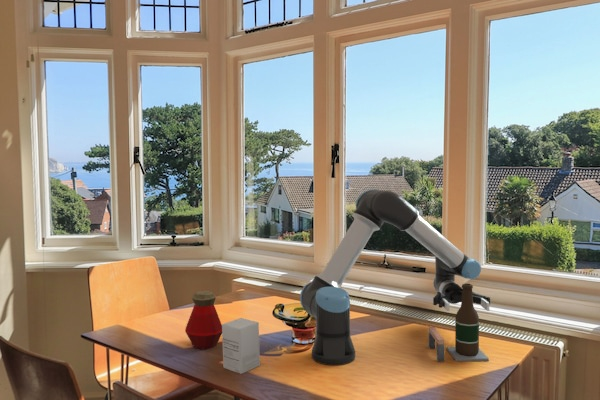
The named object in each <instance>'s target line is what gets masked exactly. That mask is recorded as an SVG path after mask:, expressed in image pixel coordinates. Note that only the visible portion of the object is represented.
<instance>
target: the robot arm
mask: <svg viewBox="0 0 600 400" xmlns="http://www.w3.org/2000/svg"><path fill="white" fill-rule="evenodd" d="M352 217H353V221H352V223H351V224H350V226H349V228H348V229H347V230H346V233H345V234H344V236H343V238H342V239H341V241H340V243H339V245H337V248H336V249H335V251H334V253H333V254H332V256H331V258H330V259H329V261H328V262H327V264H326V266H325V267H324V269H323V270H322V272H321V273H317V274H315V276H314V277H313V279H312V281H311V282H309V283H306V284H305V285H304V286H303V287H302V289H301V290H300V294H299V302H300V305H301V307H302V309H303V310H304V311H305V312H306V313H307V314H308V315H310V316H312V317H313V318H314V319H315V322H316V323H315V324H316V328H315V329H316V331H315V332H316V334H315V339H314V343H313V346H312V349H311V359H312V360H313V361H315V362H316V363H319V364H322V365H328V366H339V365H346V364H349V363H351V362H353V361H354V360H356V350H355V346H354V342H353V340H352V337H351V309H350V307H351V300H350V294H349V293H348V291H347V290H346V289H344V288H342V285H343V283H344V282H345V281H346V278H347V276H348V275H349V273H350V272H351V269H352V268H354V267H353V266H354V265H355V263H356V262H357V260H358V259H359V256H360V255H361V254H362V252H363V250H364V248H365V247H366V245H367V243H368V242H369V240H370V238H371V237H372V235H373V233H374V232H376V231H380V229H381V228H382V226H383V225H384V223H387V224H390V225H392V226H394V227H396V228H397V229H398V230H399V231H402V232H404V231H405V232H406V233H407V234H409V236H411V237H412V238H413V239H415V240H416V241H417V242H418V243H419V244H421V245H422V246H423V247H424V248H426V249H427V250H428V251H429V252H430V253H432V254H433V255H434V256H435V257H434V258H435V259H434V260H435V262H434V263H435V277H434V279H433V283H432V285H433V287H434V289H435V291H436V295H434V297H433V298H432V299H433V300H432V301H433V303H432V305H433V306H437V305H438V308H440V309H441V308H443V309H444V310H446V312H450V309H451V307H450V305H451V304H453V305H456V304H459V303H462V286H460V285H459V284H458V283H457V282H456V279H455V278H456V277H455V276H457V277H461V278H464V279H469V280H475V279H477V278H478V277H479V276H480V274H481V272H482V266H481V264H480V262H479V261H478V260H476V259H474V258H470V257H469V256H468V255H466V254H465V253H464V252H463V251H462V250H460V249H459V248H457V246H456V245H454V244H453V243H452V242H451V241H450V240H448V239H447V238H446V237H445V236H444V235H443V234H442V233H440V232H439V231H438V230H437V229H435V227H434V226H432V225H431V224H430V223H429V222H428V221H426V220H425V219H424V218H423V217H422V216H421V215H420V212H419V210H418V209H417V208H415V206H413V205H412V204H411V203H410V202H409V201H407V200H406V199H405V198H404V197H402V196H401V195H400V194H398V193H396V192H394V191H391V190H381V189H380V190H379V189H368V190H365V191H364V192H362V193H361V194H359V195H358V197H357V199H356V202H355V210H354V212H353V213H352ZM472 295H473V304H475V305H476V304H477V305H480V306H481V307H482V308H483V309H484V310H486V311H488V312H489V311H490V305H491V297H489V296H486V295H483V294H481V293H480V294H479V293H475V292H474V291H472Z"/></svg>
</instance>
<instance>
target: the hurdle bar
mask: <svg viewBox="0 0 600 400" xmlns="http://www.w3.org/2000/svg"><path fill="white" fill-rule="evenodd" d="M427 328H428V331H429V332H430V334H431V335H432V336H433V338H434V339H435V343H436V344H437V343H438V344H444V345H445V339H444V338H443V336H442V335H441V333H440V332H439V331H438V330H437V329H436V328H435V326H428V327H427ZM428 331H427V332H428Z"/></svg>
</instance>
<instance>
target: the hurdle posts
mask: <svg viewBox="0 0 600 400" xmlns="http://www.w3.org/2000/svg"><path fill="white" fill-rule="evenodd" d="M427 333H428V336H427V337H428V338H427V339H428V341H427V342H428V348H429V350H436V360H437V362H438V363H440V362H441V363H443V362H444V363H445V343H444V344H438V343H437V342H436V340H435V339H434V338H433V336H432V335H431V334H430V332H429V331H427Z"/></svg>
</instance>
